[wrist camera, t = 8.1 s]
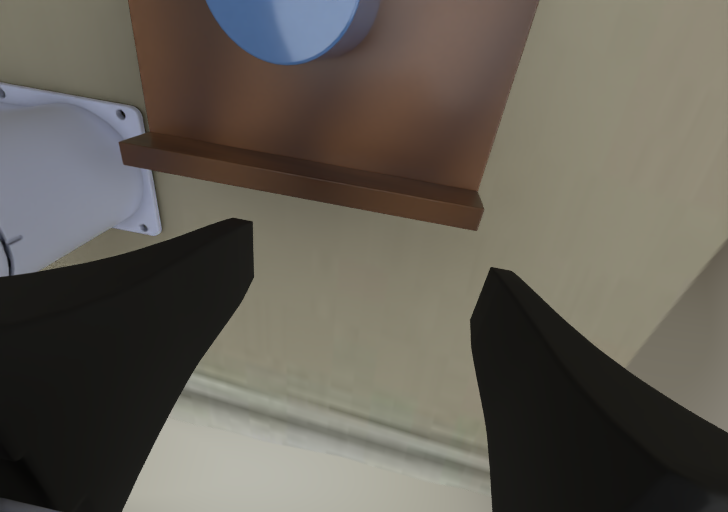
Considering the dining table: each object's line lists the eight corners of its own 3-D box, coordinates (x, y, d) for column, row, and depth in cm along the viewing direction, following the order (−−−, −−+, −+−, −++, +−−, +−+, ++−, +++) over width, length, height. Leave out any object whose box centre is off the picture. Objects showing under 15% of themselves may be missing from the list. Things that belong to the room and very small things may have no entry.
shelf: (197, 134, 20) (122, 165, 15) (173, -110, 15) (47, -186, 10) (462, 182, 20) (477, 231, 15) (533, -55, 14) (594, -109, 9)
